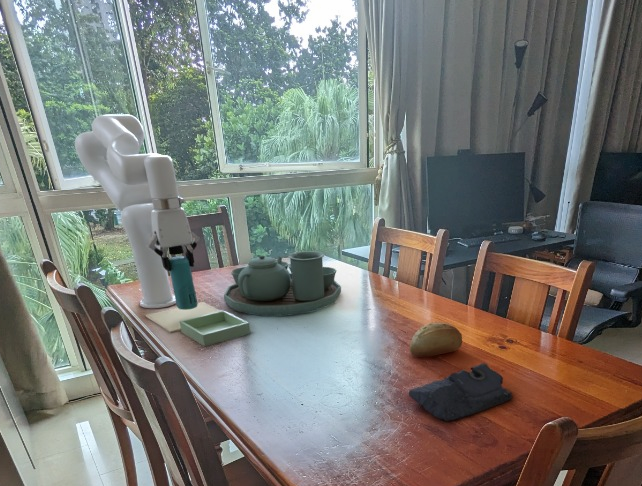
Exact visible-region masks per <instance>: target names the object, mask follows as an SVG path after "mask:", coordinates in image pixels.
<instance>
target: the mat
mask: <svg viewBox="0 0 642 486" xmlns="http://www.w3.org/2000/svg"><path fill="white" fill-rule="evenodd" d="M219 311H221V310H220V309H218V308H216V307H214V306H212V305H210V304H208V303H206V302H205V301H201V302H197V307H196V308H193V309H188V310H181V309H178V307H174V308H169V309H166V310H162V311H157V312H152V313H149V314H145V318H147V319H149V320H150V321H152V322H153V323H155V324H156V325H158V326H159V327H161V328H163V329H164V330H166V331H168V332H169V333H171V334H173V333H176V332H180V331H181V327H180V323H179V321H182V320H186V319H190V318H194V317H198V316H203V315H207V314H211V313H215V312H219Z"/></svg>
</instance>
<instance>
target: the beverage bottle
mask: <svg viewBox="0 0 642 486" xmlns="http://www.w3.org/2000/svg"><path fill="white" fill-rule="evenodd" d="M168 253H169V255H171V256H172V255H173V256H172V257H169V261H170V266H171V271H169V275H170V279H171V284H172V285H171V286H172V290H173V295H175V299H176V300H175V301H176V304H175V305H176V308H178V309H181V310H188V309H193V308H196V307H197V303H198V299H197V292H196V290H195V284H194V277H193V273H192V270H191V266H190V264H189V260H188V259H187V258H186V256H183V254H184V248H183V245H181V246H174V247H168ZM176 255H177V256H176ZM178 255H179V256H178ZM181 255H182V256H181Z"/></svg>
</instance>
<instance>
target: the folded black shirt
mask: <svg viewBox="0 0 642 486" xmlns="http://www.w3.org/2000/svg"><path fill="white" fill-rule="evenodd" d="M470 370H471V371H468V370H465V369H462V370H460V371H458V372H452V373H450V374H449V375H448V376H446V377H445V378H444V379H441V380H433V381H432V382H429V383H426V384H424V385H422V386H418V387H414V388H412V389H409V391H408V397H410V398H411V399H412V400H413V401H415V402H416V403H417V404H419V405H420V406H421V407H423V408H424V410H425V411H426V412H427V413H429V414H431V415H432V416H434V417H435V418H437V419H439V420H441V421H445V422H450V421H455V420H460V419H463V418H466V417H468V416H473V415H475V414H478V413H481V412H483V411H485V410H488V409H491V408H493V407H495V406H499V405H502V404H504V403H505V402H507V401H510V400H511V399H512V398H513V395H512V392H511V391H508V390H507V388H504V387H503V386H502V385H503V384H504V383H503V381H504V377H503V376H502V375H501V374H500V373H498V372H497V371H496V370H494V369H492V368H490V366H489V365H488V364H487V363H485V362H482V363H479V364H478V365H475V366H471V367H470Z"/></svg>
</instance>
